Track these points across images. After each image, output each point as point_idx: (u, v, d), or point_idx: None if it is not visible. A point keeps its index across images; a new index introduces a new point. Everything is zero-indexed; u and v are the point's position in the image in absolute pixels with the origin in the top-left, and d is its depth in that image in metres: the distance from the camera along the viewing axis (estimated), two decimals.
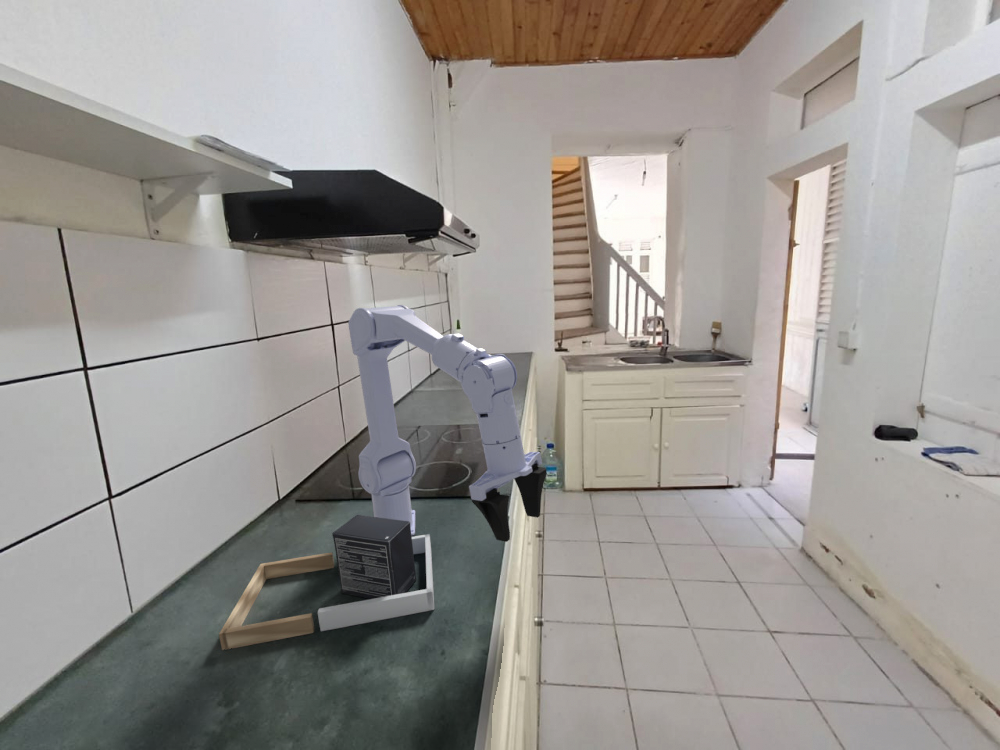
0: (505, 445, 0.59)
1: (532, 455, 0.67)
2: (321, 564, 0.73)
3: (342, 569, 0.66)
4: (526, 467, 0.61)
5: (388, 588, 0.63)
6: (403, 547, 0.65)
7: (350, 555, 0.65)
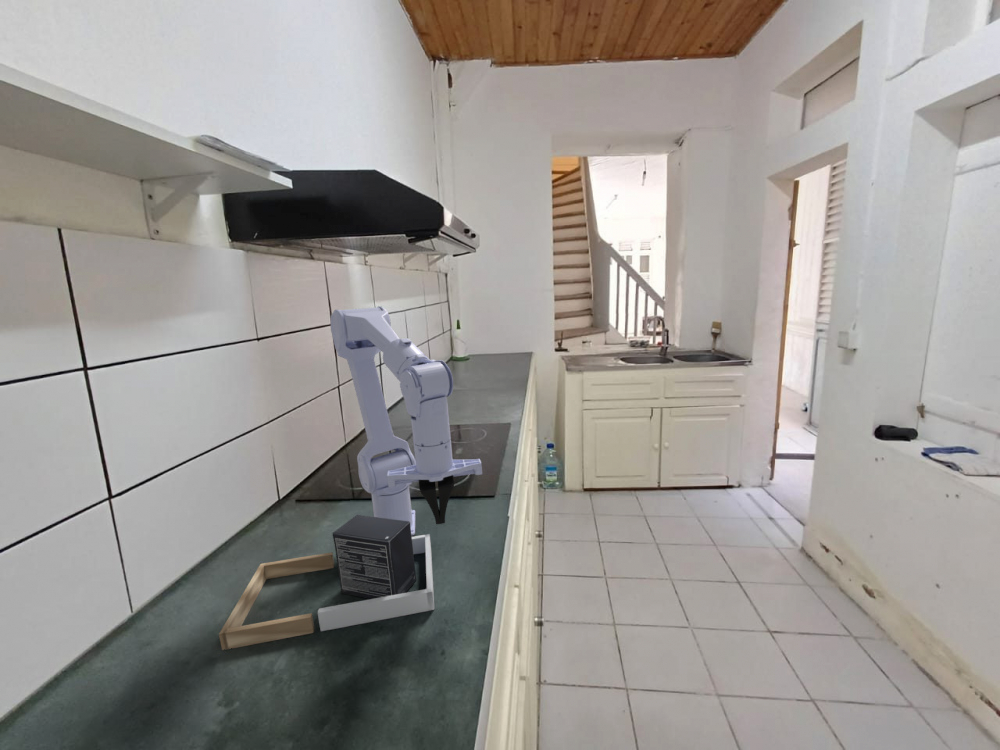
0: (420, 448, 0.63)
1: (473, 463, 0.67)
2: (321, 564, 0.73)
3: (342, 569, 0.66)
4: (439, 474, 0.63)
5: (389, 588, 0.63)
6: (403, 547, 0.65)
7: (350, 555, 0.65)
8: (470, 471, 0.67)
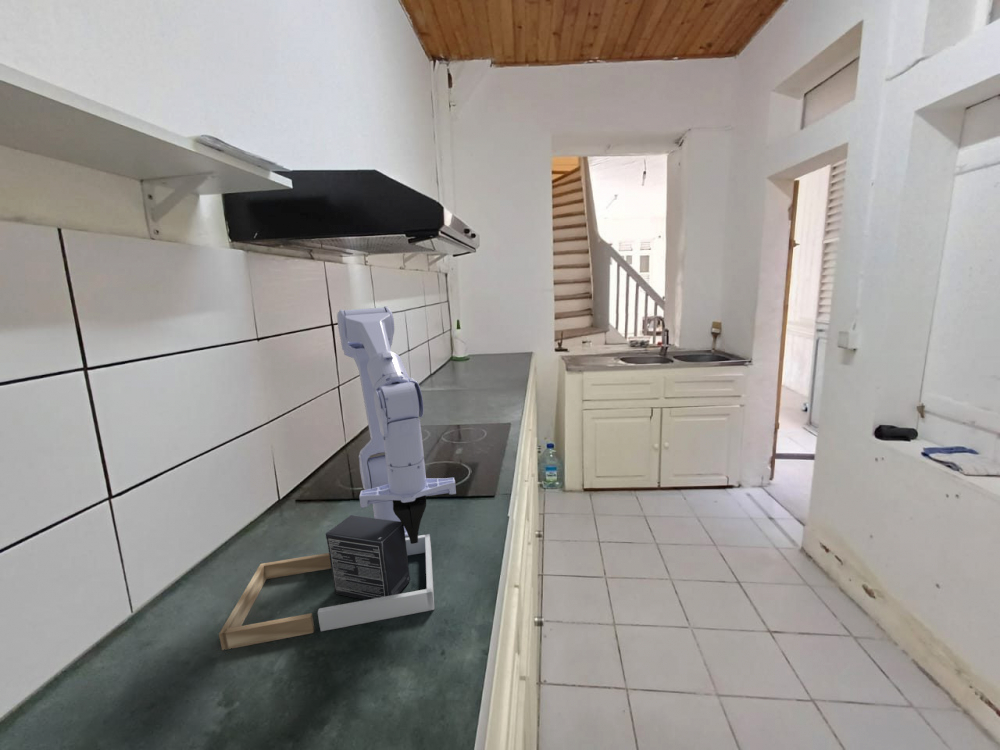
0: (392, 469, 0.63)
1: (447, 482, 0.67)
2: (321, 564, 0.73)
3: (336, 570, 0.66)
4: (411, 495, 0.63)
5: (382, 589, 0.63)
6: (396, 548, 0.65)
7: (343, 556, 0.65)
8: (444, 490, 0.67)
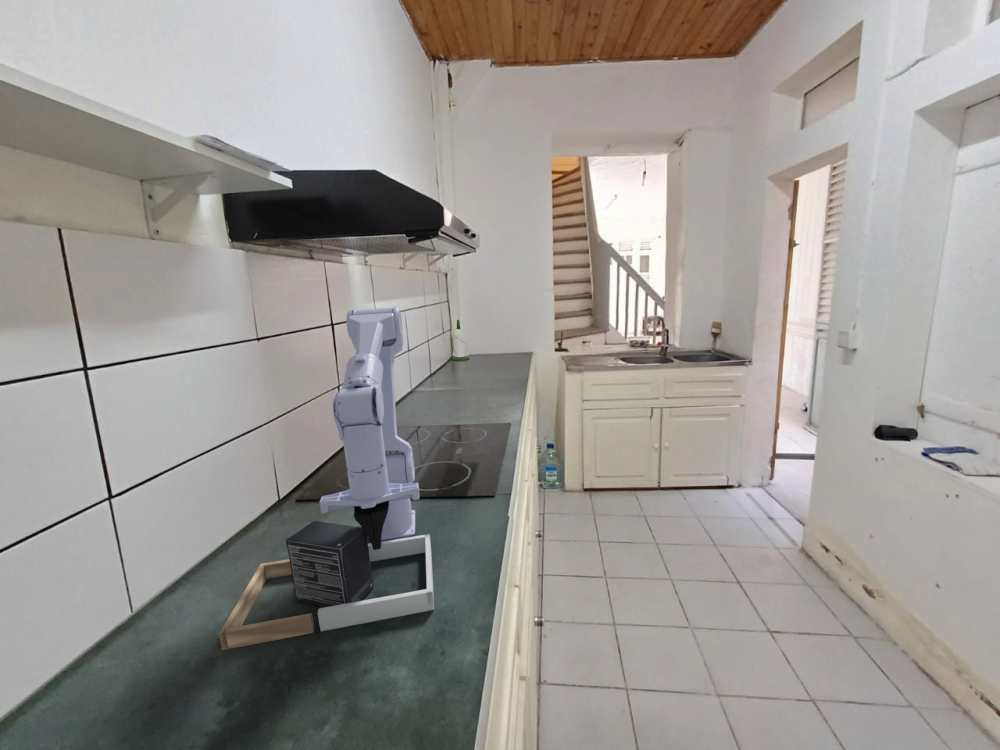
0: (352, 474, 0.62)
1: (411, 488, 0.66)
2: None
3: (296, 577, 0.65)
4: (372, 500, 0.62)
5: (341, 596, 0.62)
6: (358, 554, 0.64)
7: (303, 563, 0.64)
8: (407, 496, 0.66)
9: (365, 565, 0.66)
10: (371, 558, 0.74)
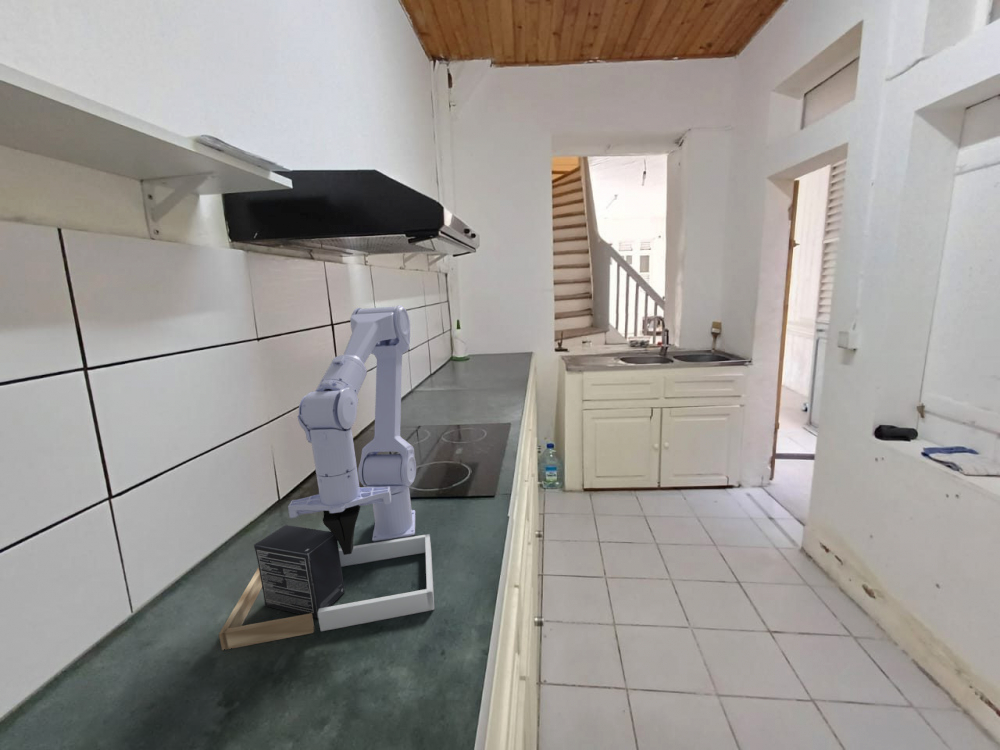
0: (321, 478, 0.61)
1: (382, 492, 0.65)
2: None
3: (265, 582, 0.64)
4: (340, 505, 0.61)
5: (310, 602, 0.61)
6: (327, 559, 0.63)
7: (271, 568, 0.63)
8: (378, 500, 0.65)
9: (335, 570, 0.65)
10: (371, 558, 0.74)
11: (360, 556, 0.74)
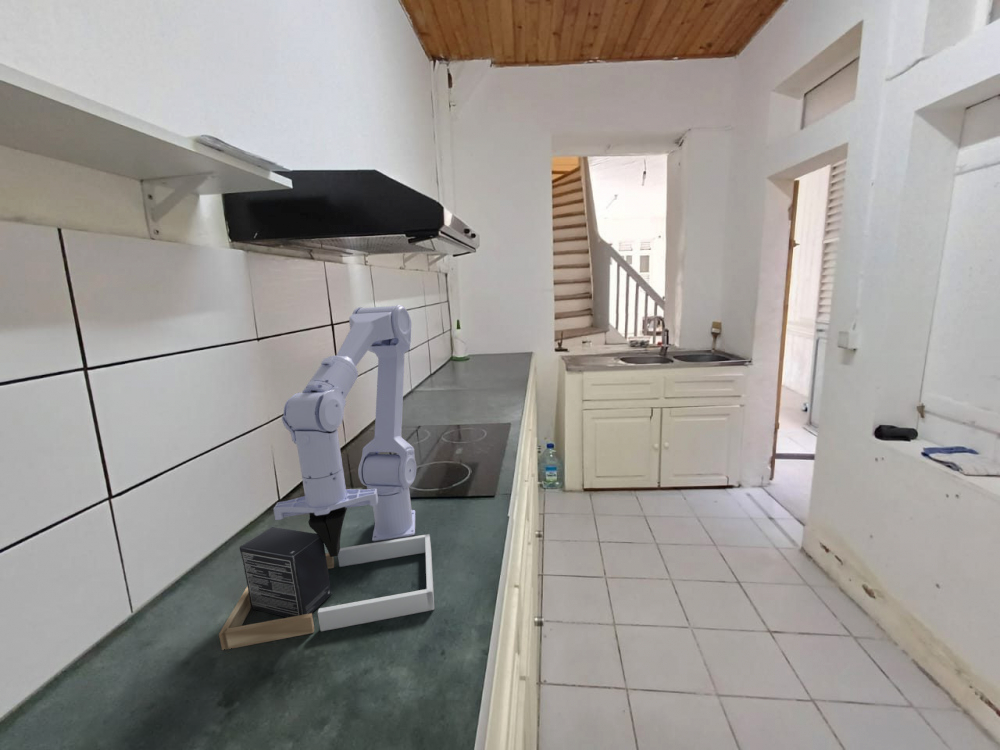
0: (306, 480, 0.61)
1: (368, 494, 0.65)
2: None
3: (251, 585, 0.64)
4: (326, 507, 0.61)
5: (295, 604, 0.61)
6: (313, 562, 0.63)
7: (257, 570, 0.62)
8: (365, 502, 0.65)
9: (322, 572, 0.65)
10: (371, 558, 0.74)
11: (360, 556, 0.74)
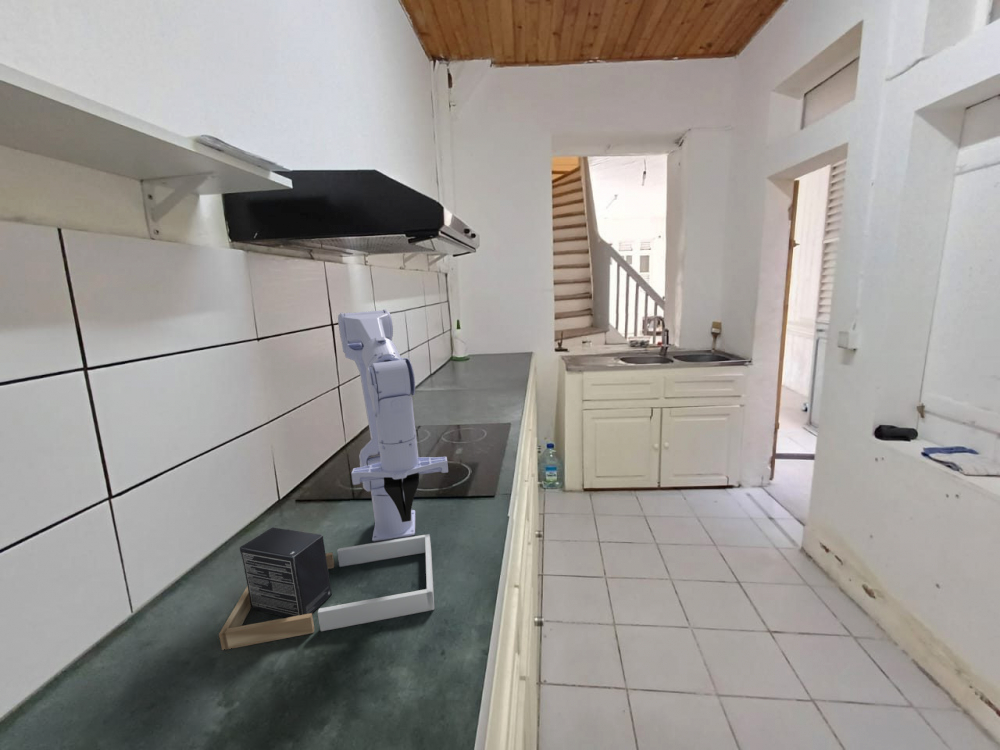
0: (384, 446, 0.63)
1: (440, 461, 0.67)
2: None
3: (251, 585, 0.64)
4: (403, 472, 0.63)
5: (295, 605, 0.61)
6: (313, 562, 0.63)
7: (257, 571, 0.62)
8: (436, 469, 0.67)
9: (322, 573, 0.65)
10: (371, 558, 0.74)
11: (360, 556, 0.74)
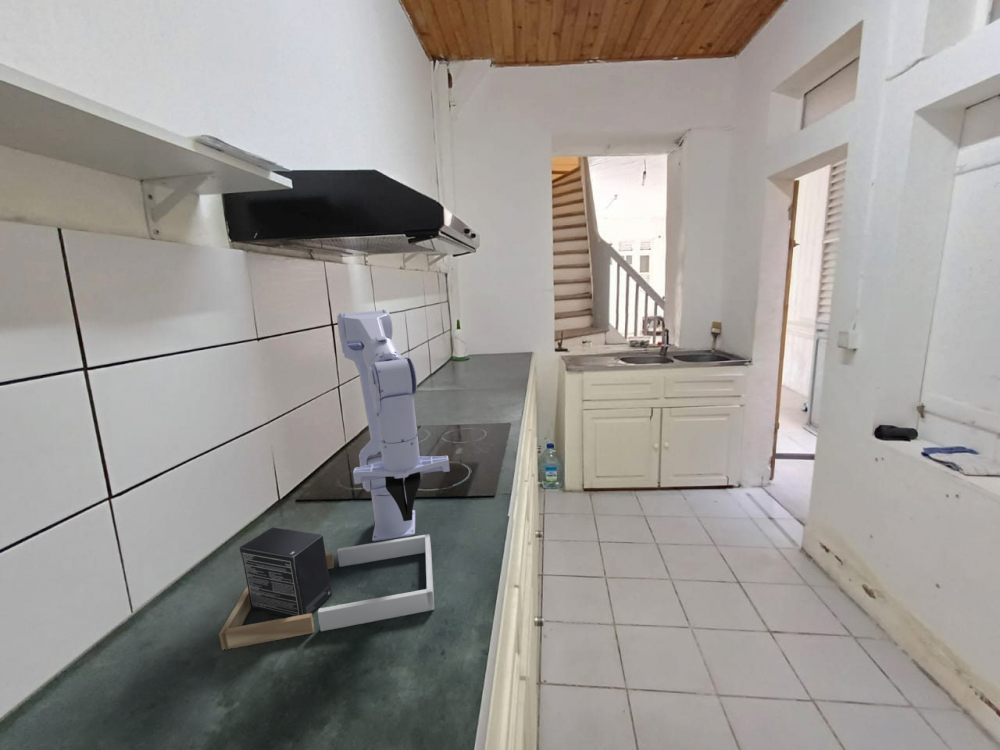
0: (385, 445, 0.63)
1: (441, 460, 0.67)
2: None
3: (251, 585, 0.64)
4: (404, 471, 0.63)
5: (295, 605, 0.61)
6: (313, 562, 0.63)
7: (257, 571, 0.62)
8: (437, 468, 0.67)
9: (322, 573, 0.65)
10: (371, 558, 0.74)
11: (360, 556, 0.74)
